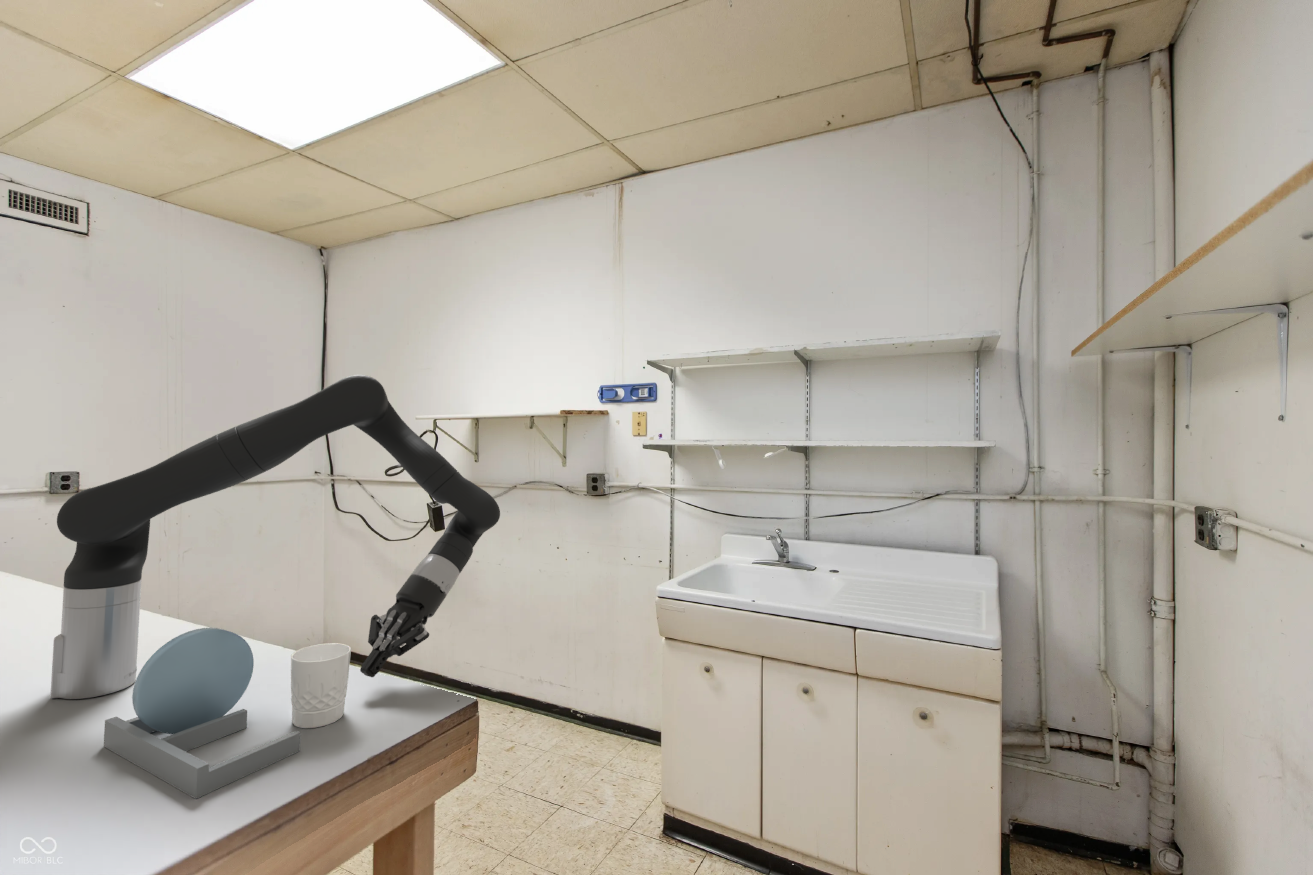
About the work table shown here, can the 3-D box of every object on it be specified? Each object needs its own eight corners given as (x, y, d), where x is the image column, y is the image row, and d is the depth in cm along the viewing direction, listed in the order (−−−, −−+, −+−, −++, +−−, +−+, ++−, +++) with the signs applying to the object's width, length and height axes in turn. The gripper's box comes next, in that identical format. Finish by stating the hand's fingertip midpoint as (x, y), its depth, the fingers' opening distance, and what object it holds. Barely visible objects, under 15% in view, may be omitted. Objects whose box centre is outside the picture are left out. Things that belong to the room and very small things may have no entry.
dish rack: (230, 702, 90) (234, 613, 90) (322, 740, 80) (327, 639, 80) (103, 746, 76) (109, 640, 77) (195, 798, 66) (202, 677, 67)
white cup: (304, 736, 81) (308, 665, 81) (277, 720, 85) (280, 653, 85) (358, 715, 88) (361, 650, 88) (330, 701, 92) (333, 639, 92)
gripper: (392, 568, 105) (325, 655, 94) (444, 578, 100) (380, 671, 88) (414, 591, 110) (353, 676, 99) (465, 601, 104) (407, 693, 93)
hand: (366, 674), depth 94 cm, fingers closed
